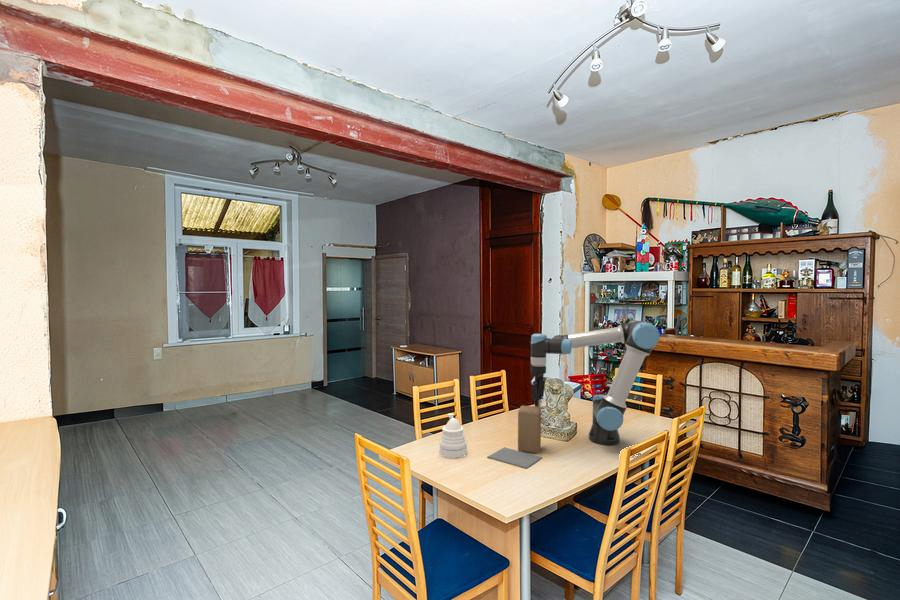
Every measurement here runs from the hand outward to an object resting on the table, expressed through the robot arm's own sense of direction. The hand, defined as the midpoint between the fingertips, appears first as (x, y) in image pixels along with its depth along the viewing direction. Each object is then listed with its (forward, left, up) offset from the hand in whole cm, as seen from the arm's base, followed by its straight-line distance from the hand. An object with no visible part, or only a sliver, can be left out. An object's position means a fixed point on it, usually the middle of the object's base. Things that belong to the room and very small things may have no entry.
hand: (537, 412), depth 221 cm
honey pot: (+26, +35, -16) cm, 47 cm away
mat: (0, +23, -16) cm, 28 cm away
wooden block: (0, +9, -16) cm, 19 cm away
